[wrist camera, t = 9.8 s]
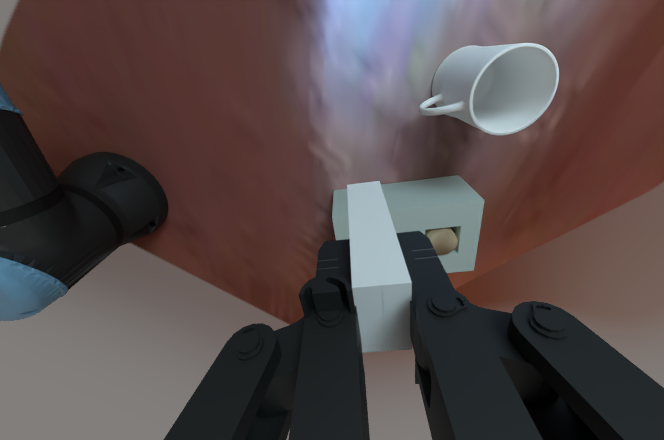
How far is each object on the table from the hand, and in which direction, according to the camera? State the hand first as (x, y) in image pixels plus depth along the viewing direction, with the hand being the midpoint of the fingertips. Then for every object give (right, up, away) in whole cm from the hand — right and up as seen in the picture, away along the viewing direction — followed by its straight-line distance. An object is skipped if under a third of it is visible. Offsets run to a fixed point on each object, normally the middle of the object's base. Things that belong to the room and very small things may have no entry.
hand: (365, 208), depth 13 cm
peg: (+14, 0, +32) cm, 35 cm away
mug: (+15, +18, +24) cm, 33 cm away
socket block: (+9, 0, +34) cm, 35 cm away
